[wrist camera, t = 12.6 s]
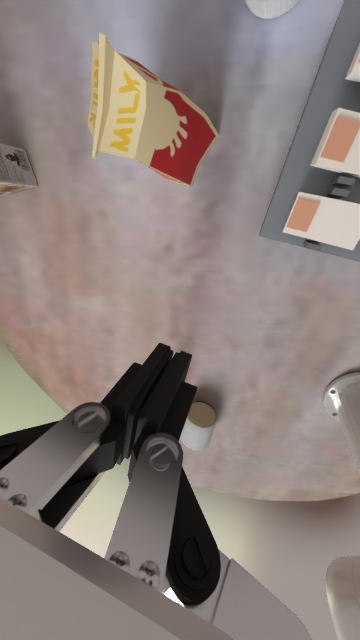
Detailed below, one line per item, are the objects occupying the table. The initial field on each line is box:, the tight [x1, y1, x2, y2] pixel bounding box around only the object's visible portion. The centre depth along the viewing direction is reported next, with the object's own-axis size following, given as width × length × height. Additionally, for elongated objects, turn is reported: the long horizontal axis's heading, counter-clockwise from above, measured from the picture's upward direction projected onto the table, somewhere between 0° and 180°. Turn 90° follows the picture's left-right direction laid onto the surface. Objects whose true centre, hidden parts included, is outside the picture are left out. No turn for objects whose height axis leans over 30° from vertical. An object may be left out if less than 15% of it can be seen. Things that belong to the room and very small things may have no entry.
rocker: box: [283, 192, 360, 250], centre depth 26 cm, size 8×4×1 cm, turn 79°
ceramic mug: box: [180, 402, 216, 450], centre depth 53 cm, size 11×8×8 cm
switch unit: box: [260, 0, 360, 262], centre depth 25 cm, size 13×21×7 cm, turn 168°
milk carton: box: [87, 32, 219, 187], centre depth 25 cm, size 9×9×20 cm
